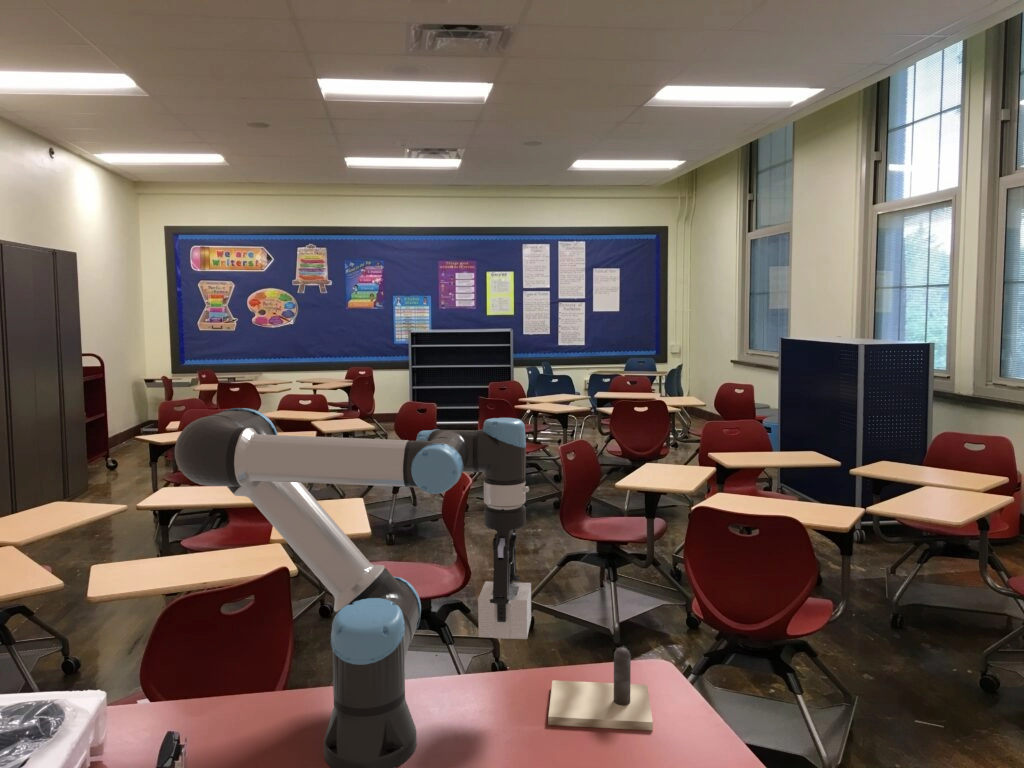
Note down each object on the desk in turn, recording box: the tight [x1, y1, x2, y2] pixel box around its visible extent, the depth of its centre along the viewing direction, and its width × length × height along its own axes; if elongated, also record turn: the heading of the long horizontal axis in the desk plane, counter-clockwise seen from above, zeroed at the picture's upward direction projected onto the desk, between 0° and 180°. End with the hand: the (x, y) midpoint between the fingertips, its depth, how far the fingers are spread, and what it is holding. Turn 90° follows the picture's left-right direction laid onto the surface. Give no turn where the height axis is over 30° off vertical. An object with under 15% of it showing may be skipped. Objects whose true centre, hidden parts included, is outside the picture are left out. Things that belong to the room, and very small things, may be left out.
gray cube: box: [477, 581, 532, 640], centre depth 131 cm, size 9×9×7 cm
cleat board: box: [547, 646, 654, 731], centre depth 131 cm, size 18×13×12 cm
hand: (505, 626), depth 132 cm, fingers closed on gray cube, 9 cm apart
